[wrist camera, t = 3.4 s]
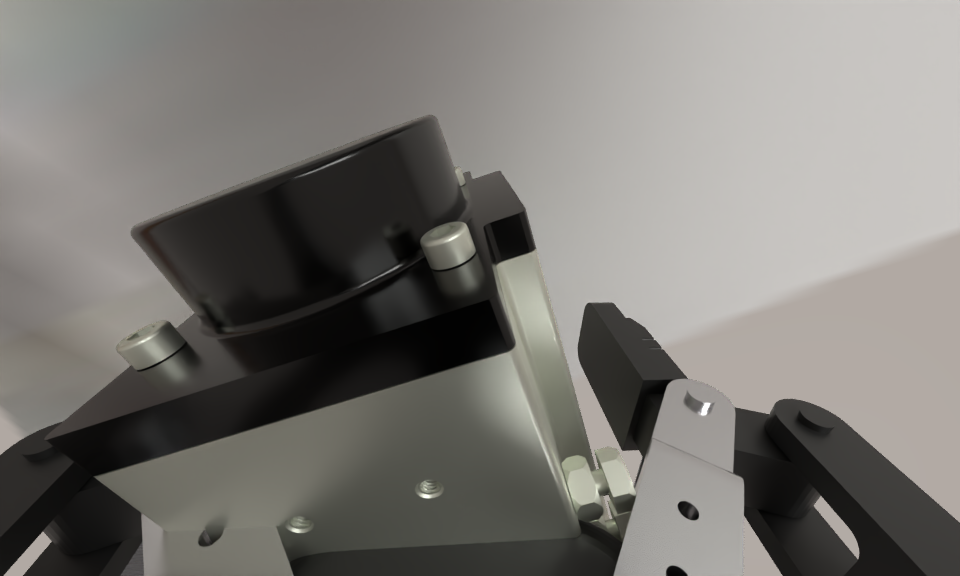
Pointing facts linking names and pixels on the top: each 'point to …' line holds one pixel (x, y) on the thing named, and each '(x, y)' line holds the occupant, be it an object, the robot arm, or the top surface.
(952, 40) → the top surface
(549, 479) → the pneumatic valve
